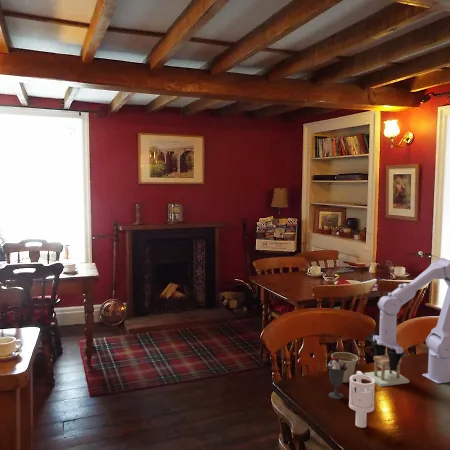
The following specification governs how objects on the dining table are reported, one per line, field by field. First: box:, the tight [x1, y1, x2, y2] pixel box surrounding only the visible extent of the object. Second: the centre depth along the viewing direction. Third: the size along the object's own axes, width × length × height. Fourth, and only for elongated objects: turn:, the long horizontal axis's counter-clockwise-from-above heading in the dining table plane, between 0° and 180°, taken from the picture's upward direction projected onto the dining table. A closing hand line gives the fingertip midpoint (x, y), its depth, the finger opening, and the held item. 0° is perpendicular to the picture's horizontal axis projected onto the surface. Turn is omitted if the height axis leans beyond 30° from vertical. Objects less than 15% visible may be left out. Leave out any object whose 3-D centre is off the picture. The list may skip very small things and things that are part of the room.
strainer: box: [348, 370, 376, 429], centre depth 133 cm, size 7×7×15 cm
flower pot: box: [331, 351, 359, 384], centre depth 166 cm, size 9×9×9 cm
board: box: [363, 369, 410, 388], centre depth 167 cm, size 12×10×1 cm
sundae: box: [326, 351, 347, 400], centre depth 152 cm, size 7×7×15 cm
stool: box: [372, 354, 402, 380], centre depth 167 cm, size 5×8×7 cm
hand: (386, 366), depth 167 cm, fingers open, 7 cm apart
